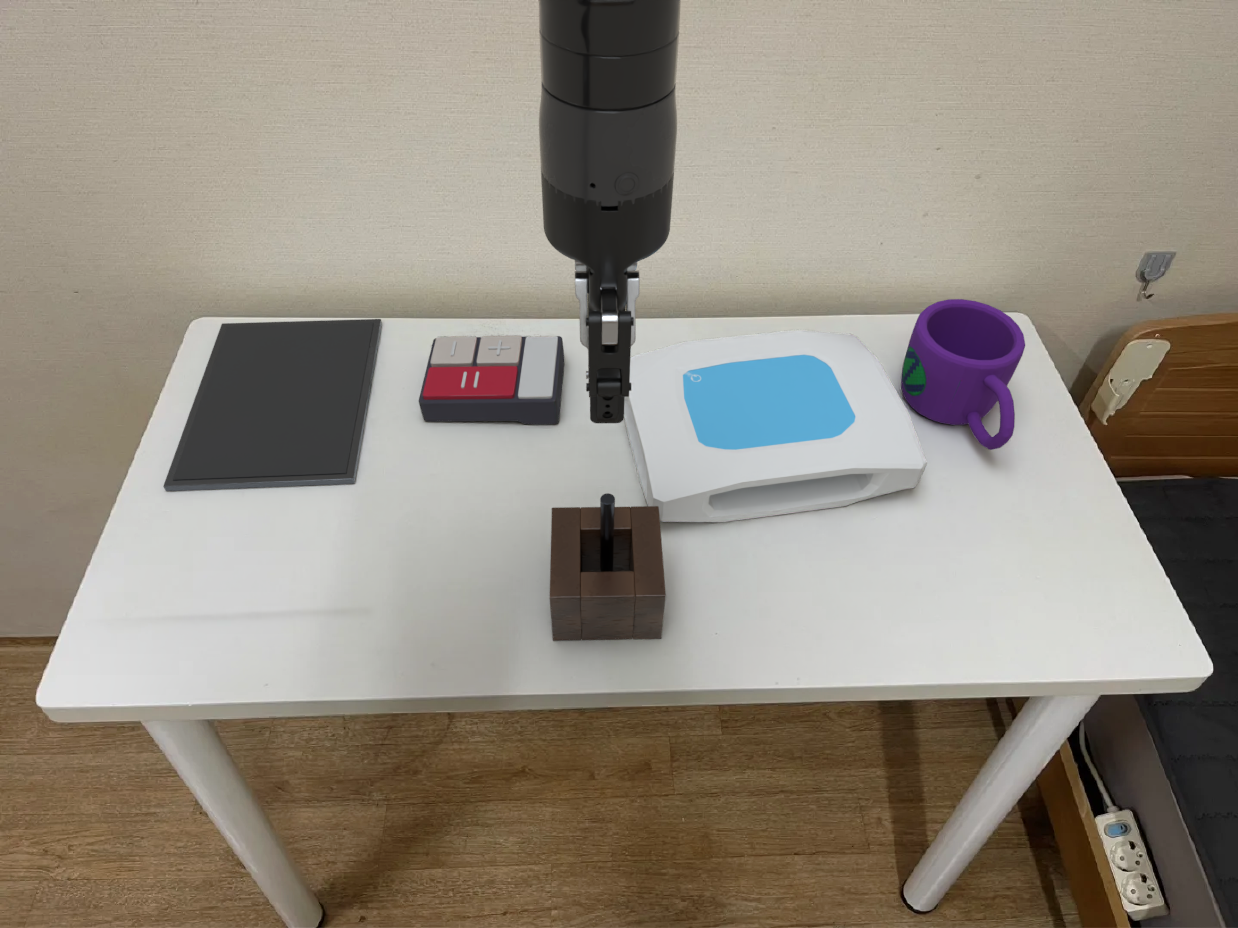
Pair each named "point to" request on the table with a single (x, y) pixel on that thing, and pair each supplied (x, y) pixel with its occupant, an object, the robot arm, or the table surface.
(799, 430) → the document scanner
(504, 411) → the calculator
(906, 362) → the mug
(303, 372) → the tablet
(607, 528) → the stylus
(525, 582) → the table surface
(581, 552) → the pen stand
